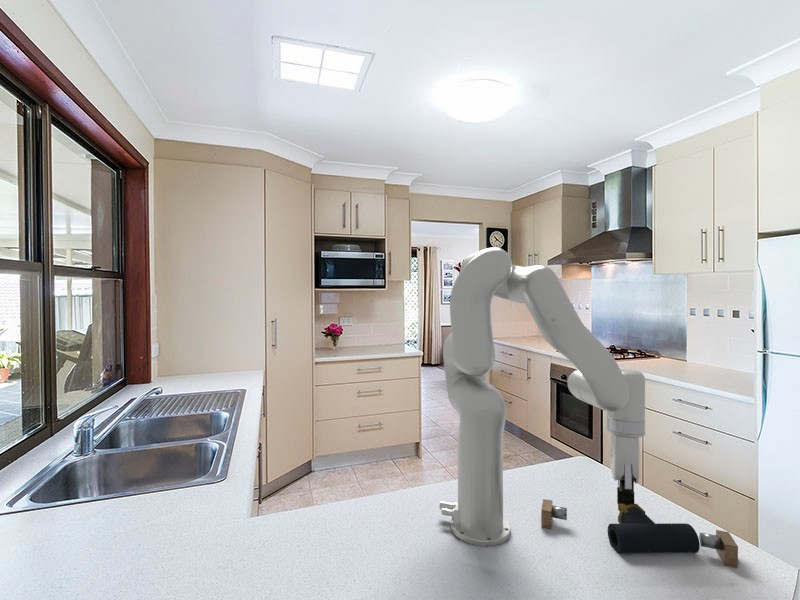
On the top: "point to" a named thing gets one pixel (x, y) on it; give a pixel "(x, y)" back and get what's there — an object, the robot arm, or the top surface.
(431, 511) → the top surface
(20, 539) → the top surface
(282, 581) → the top surface
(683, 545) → the pipe connector
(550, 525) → the left shaft
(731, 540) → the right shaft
